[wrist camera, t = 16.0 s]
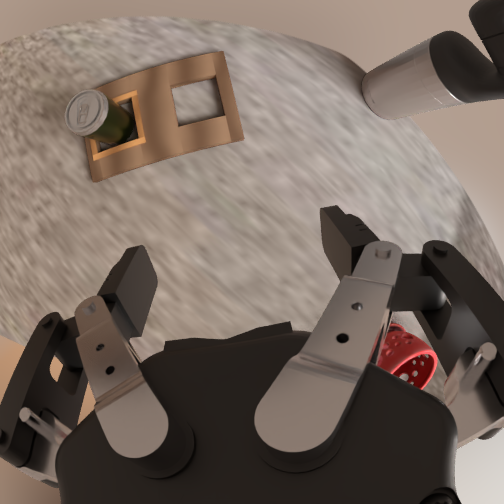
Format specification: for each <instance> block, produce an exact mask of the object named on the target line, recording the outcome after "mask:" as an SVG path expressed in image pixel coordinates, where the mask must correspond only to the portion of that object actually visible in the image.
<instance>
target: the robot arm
mask: <svg viewBox="0 0 504 504" xmlns="http://www.w3.org/2000/svg"><path fill="white" fill-rule="evenodd" d="M469 18H470V20H471V22H472V25H473V26H474V28H475V30H476V32H477V34H478V36H479V37H480V39H481V40H483V41H482V43H483V44H484V46H485V48H486V50H487V52H488V53H489V55H490V57H491V59H492V61H493V63H492V62H491V61H490V60H489V59H488V58H486V57H485V56H484V55H483V54H482V53H481V52H480V51H479V49H478V48H476V46H474V44H473V43H472V42H471V41H469V40H468V39H467V38H466V37H464V36H463V35H461V34H459V33H457V32H454V31H445V32H442V33H440V34H437V35H436V36H433V37H431V38H430V39H427V40H425V41H423V42H422V43H420V44H418V45H416V46H414V47H412V48H410V49H408V50H407V51H405V52H403V53H401V54H399V55H398V56H396V57H394V58H392V59H391V60H389V61H387V62H385V63H384V64H382V65H380V66H378V67H377V68H375V69H373V70H372V71H370V72H368V73H367V74H366V75H365V77H364V78H363V81H362V92H363V96H364V99H365V101H366V103H367V104H368V106H369V107H370V108H371V110H372V111H373V112H374V113H375V114H377V115H378V116H380V117H382V118H384V119H388V120H395V119H399V118H403V117H407V116H411V115H415V114H419V113H423V112H428V111H433V110H437V109H441V108H447V107H451V106H456V105H461V104H467V103H473V102H478V101H488V100H496V99H504V0H479V1H478V2H476V3H475V4H474V5H473V6H472V7H471V9H470V11H469ZM320 221H321V233H322V244H323V248H324V252H325V254H326V256H327V258H328V259H329V261H330V263H331V265H332V267H333V269H334V270H335V272H336V274H337V276H338V278H339V280H340V284H339V285H338V287H337V289H336V291H335V293H334V295H333V297H332V298H331V300H330V302H329V304H328V306H327V307H326V309H325V311H324V313H323V314H322V316H321V318H320V320H319V321H318V323H317V325H316V327H315V328H314V330H313V332H307V331H292V327H291V323H290V321H289V322H284V323H279V324H274V325H269V326H264V327H258V328H256V329H253V330H250V331H248V332H245V333H242V334H239V335H237V336H234V337H231V338H228V339H205V338H188V339H180V340H172V341H165V346H164V350H163V351H161V352H159V353H156V354H154V355H152V356H150V357H149V358H147V359H146V360H144V361H143V362H142V360H141V359H140V357H139V356H138V354H137V352H136V351H135V349H134V347H133V346H132V344H131V343H130V341H129V340H130V338H133V337H141V336H142V333H143V329H144V326H145V323H146V319H147V316H148V313H149V310H150V307H151V303H152V300H153V297H154V294H155V291H156V288H157V284H158V281H157V275H156V272H155V270H154V268H153V265H152V263H151V261H150V258H149V256H148V253H147V251H146V249H145V247H144V246H143V245H140V246H135V247H131V248H128V249H126V251H125V253H124V254H123V256H122V258H121V259H120V261H119V262H118V263H117V264H116V265H115V266H114V267H113V268H112V269H111V271H110V273H109V276H107V278H106V281H104V283H103V285H102V287H101V288H100V290H99V292H98V294H97V296H92V297H89V298H87V299H85V300H84V301H83V302H81V303H80V304H79V305H78V307H77V308H76V310H75V316H74V317H72V318H69V319H67V320H63V319H62V317H61V316H60V314H59V313H58V312H52V313H50V314H48V315H46V316H45V317H44V318H42V319H41V321H40V322H39V323H38V325H37V327H36V328H35V330H34V332H33V334H32V336H31V338H30V340H29V342H28V343H27V345H26V347H25V349H24V351H23V354H22V356H21V358H20V360H19V362H18V364H17V366H16V368H15V370H14V373H13V375H12V377H11V380H10V382H9V384H8V387H7V389H6V392H5V394H4V397H3V399H2V402H1V405H0V457H1V458H3V459H4V460H6V461H7V462H9V463H10V464H11V465H12V466H14V467H15V468H17V469H18V470H20V471H22V472H24V473H25V474H27V475H29V476H31V477H32V478H34V479H37V480H40V481H42V482H44V483H46V484H48V485H49V486H52V487H54V488H59V490H60V497H61V504H461V502H460V500H459V498H458V496H457V493H456V488H455V476H454V474H455V457H456V450H457V449H458V448H460V447H462V446H464V445H465V444H467V443H469V442H471V441H473V440H474V439H476V438H479V439H482V440H486V439H489V438H491V437H493V436H494V435H495V434H497V433H498V432H499V431H500V430H502V428H504V301H503V300H502V299H501V297H500V296H499V295H498V294H497V293H496V291H495V290H494V289H493V288H492V287H491V286H490V284H489V283H488V282H487V281H486V280H485V279H484V278H483V277H482V275H481V274H480V273H479V272H478V271H477V270H476V269H475V268H474V267H473V266H472V265H471V264H470V263H469V262H468V260H467V259H466V258H465V257H464V256H463V255H462V254H461V253H460V252H459V251H458V250H457V249H456V248H455V247H454V246H452V245H451V244H449V243H447V242H444V241H439V240H432V241H428V242H426V243H425V244H424V245H423V249H422V254H403V253H402V250H401V248H400V247H399V246H398V245H396V244H394V243H392V242H388V241H380V240H379V239H378V237H377V236H376V235H375V234H374V233H373V232H372V231H371V230H370V229H369V228H368V227H367V226H366V225H365V224H364V222H363V221H362V220H361V219H360V218H358V217H356V216H354V215H352V214H345V213H344V212H343V211H342V210H341V209H340V208H339V207H338V206H337V205H335V206H330V207H324V208H320ZM446 298H448V299H449V301H450V303H451V306H450V304H449V303H448V302H447V300H446ZM397 311H413V313H414V315H415V317H416V318H417V320H418V322H419V323H420V325H421V327H422V329H423V331H424V332H425V334H426V336H427V338H428V340H429V342H430V343H431V345H432V347H433V349H434V351H435V353H436V355H437V357H438V359H439V361H440V363H441V365H442V367H443V369H444V371H445V373H446V375H447V377H448V378H447V380H446V381H445V384H444V388H443V392H444V397H445V403H446V405H445V404H444V403H443V402H442V401H441V400H439V399H438V398H436V397H435V396H433V395H431V394H429V393H427V392H425V391H423V390H421V389H419V388H418V387H416V386H414V385H412V384H410V383H408V382H406V381H404V380H402V379H401V378H399V377H397V376H395V375H393V374H391V373H389V372H388V371H386V370H384V369H382V368H380V367H379V366H377V364H378V361H379V358H380V354H381V351H382V348H383V345H384V342H385V339H386V335H387V332H388V329H389V326H390V322H391V319H392V315H393V312H397ZM54 355H55V356H56V357H57V358H58V359H59V361H60V362H61V363H62V364H63V368H62V370H61V373H60V376H59V379H58V381H57V382H56V381H55V380H54V379H53V378H52V376H51V374H50V364H51V362H52V359H53V357H54ZM88 381H89V384H90V387H91V390H92V392H93V395H94V398H95V400H96V404H95V405H94V408H95V409H94V410H93V411H92V412H91V413H90V414H89V415H88V416H87V417H86V418H85V419H84V420H83V421H82V422H81V423H80V424H79V425H78V426H77V423H78V419H79V415H80V410H81V407H82V403H83V399H84V395H85V391H86V388H87V384H88Z"/></svg>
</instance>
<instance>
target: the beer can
mask: <svg viewBox="0 0 504 504" xmlns="http://www.w3.org/2000/svg"><path fill="white" fill-rule="evenodd" d="M65 122H66V125H67V127H68V128H69V129H70V130H71V131H72V132H73V133H75V134H76V135H79V136H82V137H86V138H89V139H93V140H96V141H99V142H103V143H106V144H109V145H118V144H121V143H123V142H125V141H126V140H127V139H128V138H129V137H130V135H131V134H132V132H133V128H134V120H133V117H132V115H131V114H130V113H129V112H128V111H127V110H125V109H124V108H123V107H121V106H120V105H119V104H117V103H116V102H115V101H113V100H112V99H111V98H109V97H108V96H106V95H105V94H104V93H102V92H100V91H98V90H92V89H86V90H83V91H81V92H79V93H78V94H76V95H75V96H74V97H73V98H72V99H71V100H70V102H69V103H68V105H67V108H66V111H65Z"/></svg>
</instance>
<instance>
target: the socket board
mask: <svg viewBox="0 0 504 504" xmlns="http://www.w3.org/2000/svg"><path fill="white" fill-rule="evenodd" d="M214 78H216V80H217V85H218V89H219V93H220V98H221V102H222V106H223V111H224V115H225V116H221V117H217V118H212V119H208V120H204V121H199V122H195V123H191V124H188V125H184V126H180V127H179V125H178V120H177V115H176V110H175V105H174V100H173V95H172V90H171V89H172V88H176V87H179V86H183V85H187V84H191V83H196V82H200V81H204V80H209V79H214ZM94 90H98V91H100V92H102V93H104V94H105V95H106V96H108V97H109V98H111V99H112V100H113V101H115V102H116V103H117V104H119V105H122V104H125V103H128V102H131V101H132V102H133V109H134V114H135V120H136V126H137V131H138V136H139V138H138V139H135V140H133V141H130V142H127V143H124V144H121V145H118V146H116V147H113V148H110V149H108V150H105V151H101V145H100V142H99V141H96V140H93V139H89V138H86V137H85V143H86V149H87V155H88V160H89V166H90V171H91V176H92V180H93V182H99V181H102V180H104V179H107V178H110V177H113V176H116V175H118V174H121V173H124V172H127V171H130V170H133V169H136V168H139V167H142V166H145V165H149V164H152V163H155V162H159V161H162V160H165V159H169V158H172V157H176V156H179V155H183V154H187V153H191V152H195V151H198V150H202V149H207V148H211V147H215V146H219V145H224V144H228V143H233V142H238V141H242V140H244V135H243V131H242V127H241V122H240V118H239V114H238V109H237V105H236V101H235V97H234V93H233V88H232V84H231V80H230V76H229V72H228V68H227V64H226V60H225V56H224V52H223V51H220V52H214V53H209V54H204V55H199V56H195V57H190V58H186V59H182V60H178V61H174V62H171V63H167V64H163V65H160V66H157V67H153V68H150V69H147V70H144V71H141V72H138V73H135V74H132V75H129V76H126V77H124V78H121V79H118V80H116V81H113V82H110V83H108V84H106V85H103V86H101V87H98V88H96V89H94Z"/></svg>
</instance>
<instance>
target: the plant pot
mask: <svg viewBox="0 0 504 504" xmlns="http://www.w3.org/2000/svg"><path fill="white" fill-rule="evenodd" d="M424 354H428V355H429V358H426V356H425V355H424ZM418 355H421V356H420V358H419V357H418ZM414 360H415V361H416V364H415V365H414V364H413V361H414ZM422 361H423V362H424V366H422ZM436 365H437V356H436V353H435V352H434V351H433V350H432V349H431V348H430V347H429V346H428V345H427V344H426V343H425V342H424V341H422V340H421V339H419V338H418V337H416V336H414V335H412V334H410V333H407V332H406V331H405V329H404V328H403V327H402V326H401V325H399V324H395V323H390V326H389V329H388V332H387V335H386V339H385V342H384V345H383V348H382V351H381V354H380V358H379V361H378V364H377V366H379V367H380V368H382V369H384V370H386V371H388V372H389V373H391V374H393V375H395V376H397V377H400V376H401V375H402V374H407V375H408V376H409V378H408V380H407V381H406V382H408V383H411V382H414V384H413V385H414V386H416V387H418V388H419V389H421V390H422V389H423V388H424V387H425V386H426V384H427V383H428V382H429V380H430V379H431V377H432V375H433V373H434V371H435V369H436ZM415 371H417V372H418V375H417V376H416V377H414V375H413V374H414V372H415Z"/></svg>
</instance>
